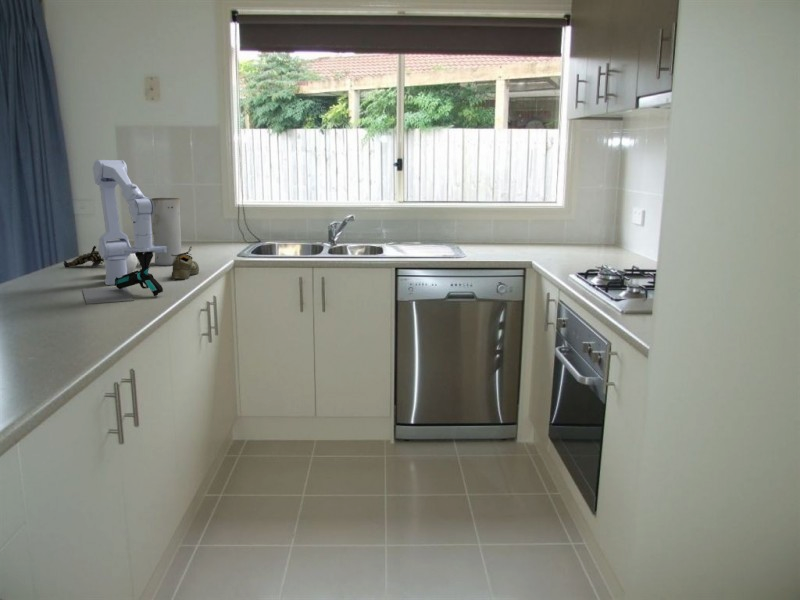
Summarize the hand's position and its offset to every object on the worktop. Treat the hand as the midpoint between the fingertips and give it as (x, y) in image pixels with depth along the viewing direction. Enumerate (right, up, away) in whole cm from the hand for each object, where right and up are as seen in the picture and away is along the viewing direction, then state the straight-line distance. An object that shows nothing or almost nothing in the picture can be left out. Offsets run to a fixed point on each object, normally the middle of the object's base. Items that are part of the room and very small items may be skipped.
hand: (145, 274), depth 229 cm
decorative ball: (-21, 0, +31) cm, 38 cm away
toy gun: (-2, -6, 0) cm, 7 cm away
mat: (-11, -7, -4) cm, 14 cm away
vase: (-14, +7, +60) cm, 62 cm away
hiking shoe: (+2, 0, +34) cm, 34 cm away
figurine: (-43, +5, +50) cm, 66 cm away
